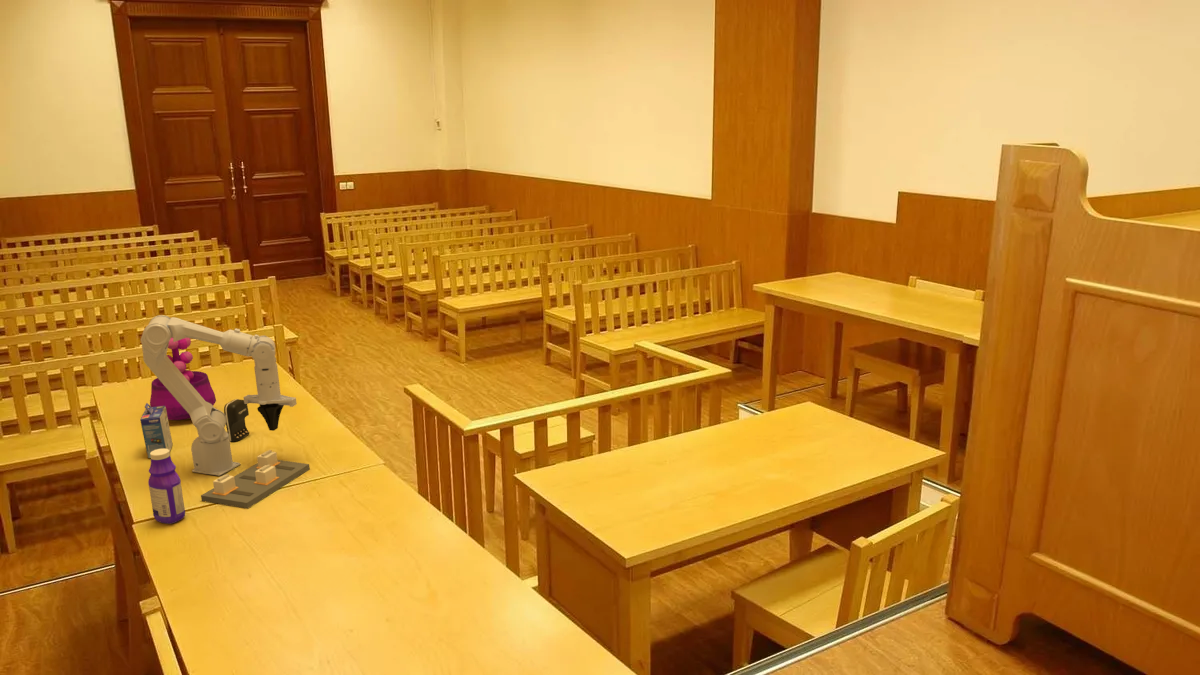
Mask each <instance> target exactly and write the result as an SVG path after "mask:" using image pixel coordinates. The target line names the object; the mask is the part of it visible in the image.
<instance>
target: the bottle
mask: <svg viewBox="0 0 1200 675" xmlns="http://www.w3.org/2000/svg"><path fill="white" fill-rule="evenodd" d="M170 452H171V451H170ZM170 452H169V449H157V450H154V451H152V452H151V453H150V457H151V459H150V467H149V468H148V473H149V474H150V475H149V478H148V489H149V496H150V502H151V503H150V504H151V509H152V515H153V517H154V519H155V520H156V521H157V522H158V523H162V524H168V525H169V524H174V523H178V522H179V521H181V520H182V519H184V518H185V516H186V510H185V509H186V508H185V501H184V496H183V495H184V494H183V488H182V484H181V482H182V481H181V478H180V476H179V474H178V473H177V472H176V468H177V466H176V464H174V462H173V460H172V457H171V453H170Z"/></svg>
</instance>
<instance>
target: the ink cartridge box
mask: <svg viewBox="0 0 1200 675" xmlns="http://www.w3.org/2000/svg"><path fill="white" fill-rule="evenodd" d="M144 408H145V409H144V412H143V414H142V415H141V417H140V421H139V422H140V425H141V431H142V436H143V440H144V445H145V449H146V454H147V459H148V458H151V457H150V453H151V452H152V451H154V450H157V449H169V452H171V450H172V447H173V440H172V439H173V438H172V435H171V428H170V425H169V424H170V423H169V420H168V417H167V412H166V407H165V406H158V407H151V406H150V403H148V402H146V403H145V404H144Z"/></svg>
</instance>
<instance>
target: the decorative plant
mask: <svg viewBox="0 0 1200 675" xmlns="http://www.w3.org/2000/svg"><path fill="white" fill-rule="evenodd" d="M191 340H192V338H184V339H181V340H178V341H175V342H173V338H171V339H170V341H169V343H168V344H169V345H168V349H170V350H171V355H170V354H166V355H167V357H168V358H169V359H170V360H171V361H172V363H173V364H174V365H175V366H176V367H177V368H178V370H179V371H180V372H181V373H182V374H183V375H184V377H185V378H186V379H187V380H188V381H189V382H190V384H191V385H192V386H193V387H194V388H195V389H196V391H197V392H198V393H199V394H200V395H201V397H202V398H203V399H204V400H205V401H206V402H208V403H210V404H212V405H213V406H215V404H216V402H217V398H216V394H215V392H214V390H213V387H212V385H211V382H210V379H209V376H208V374H207V373H205V372H204V371H198V370H197V371H196V370H190V369H187V365H186V364H190V363H191V361H193V359H194V356H193V354H192V353H191V352H190V351H184V352H181V353H180V350H187V349H188V348H189V347H190V346H191V344H192V341H191ZM150 386H151V389H150V391H151V393H150V400H149V405H150V406H151V407H158V406H165V407H166V412H167V417H168V421H183V420H190V419H191V417H190V415H189V413H188V412H187V411H186V410H185V409H184V408H183V406H182V405H181V404H180V403H179V402H178V401H177V400H176V398H175V397H174V396H173V395H172V394H171V393H170V391H169V390H168V389H167V388H166V387H165V386H164V385H163V383H162V382H161V381H160V380H159V379H158V378H157V377H156V378H155V379H153V380H152V381H151V385H150Z"/></svg>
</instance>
